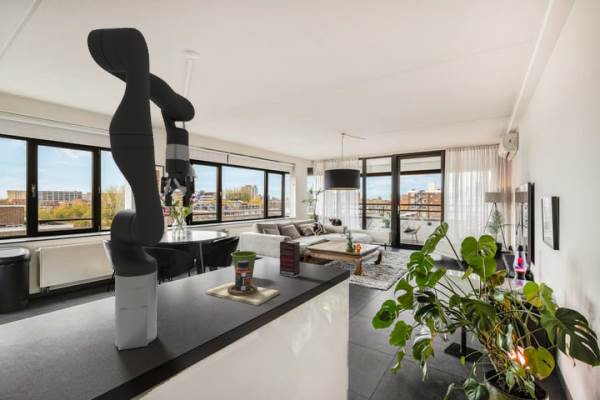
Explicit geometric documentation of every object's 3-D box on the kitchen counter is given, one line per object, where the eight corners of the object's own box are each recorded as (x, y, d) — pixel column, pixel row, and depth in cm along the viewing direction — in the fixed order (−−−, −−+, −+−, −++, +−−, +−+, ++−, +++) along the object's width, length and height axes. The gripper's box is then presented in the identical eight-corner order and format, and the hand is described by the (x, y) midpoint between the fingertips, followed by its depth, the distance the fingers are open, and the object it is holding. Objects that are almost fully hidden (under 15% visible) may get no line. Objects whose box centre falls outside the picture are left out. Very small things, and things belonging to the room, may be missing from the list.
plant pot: (239, 273, 138) (239, 250, 138) (261, 276, 134) (261, 251, 134) (225, 280, 127) (225, 254, 126) (249, 283, 123) (249, 256, 123)
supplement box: (300, 275, 135) (300, 241, 135) (294, 278, 131) (294, 243, 131) (284, 273, 140) (285, 240, 140) (279, 275, 136) (279, 241, 136)
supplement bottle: (247, 294, 106) (247, 263, 106) (232, 292, 107) (232, 262, 107) (253, 289, 112) (253, 259, 111) (238, 287, 113) (239, 259, 113)
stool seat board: (279, 293, 110) (279, 287, 110) (257, 305, 97) (257, 298, 97) (230, 284, 121) (230, 278, 121) (205, 293, 109) (205, 287, 109)
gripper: (153, 159, 98) (153, 206, 98) (182, 156, 92) (182, 207, 92) (172, 161, 105) (172, 206, 105) (201, 159, 98) (200, 207, 98)
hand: (177, 206), depth 98 cm, fingers open, 8 cm apart
